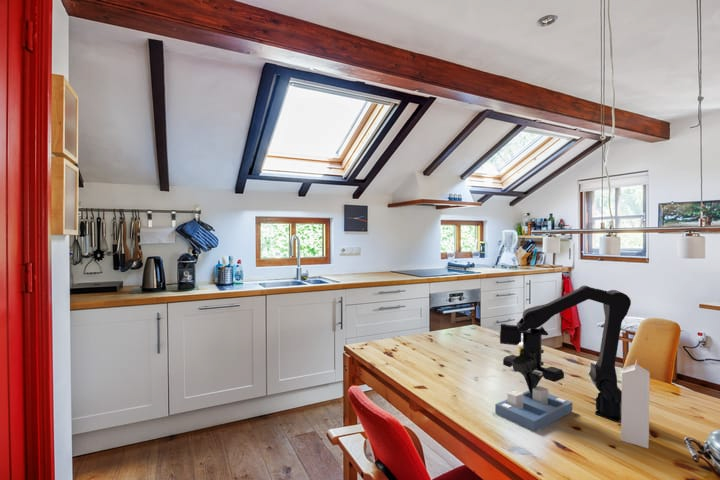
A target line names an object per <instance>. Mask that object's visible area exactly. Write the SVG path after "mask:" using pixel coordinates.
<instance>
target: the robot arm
mask: <svg viewBox="0 0 720 480" xmlns="http://www.w3.org/2000/svg"><path fill="white" fill-rule="evenodd" d="M587 300H590V301H594V302H597V303H600V304H603V305H602V306H603V313H604V317H605V318H604V323H603V324H604V325H603V331H602V337H601V343H600V350H599V353H598V355H599V356H598V359H597V361H596V363H593V362H590V370H589V372H588V375H589V377H590V380H591V382H592V383H593V385H594V386H595V388H596V389H597V390H598V393H597V396H596V397H595V410H596V411H595V412H594V414H595V415H598V416H600V417H604V419H605V418H606V419H609V420H611V421H613V422H616V423H619V422H621V409H622V389H620V387H619V386H618V376H617V371H616V361H617V360H616V359H617V354H618V347H619V341H620V334H621V329H622V324H623V321H624V319H625V318H626V316H627V315H628V313H629V309H630V308H631V304H632V301H631V298H630V296H629V295H627V294H626V293H624V292H621V291H618V290H616V289H611V290H608V291H607V290H604V289H599V288H594V287H590V286H588V285H580V286H579V288H577V289H575V290H572V291H571V292H569V293H566V294H564V295H562V296H560V297H557V298H556V299H554V300H552V301H549V302H547V303H546V304H540V305H536V306H532V307H528V308H526V309H525V310H524V311H523V312H522V317H521V319H519V321H518V322H517V323H516V324H507V323H500V331H499V345H509V346H519V343H521V341H522V340H521V336H523V349H521V351H520V355H519V354H518V355H519V356H518V355H514V354H510V355H507V356H505V357H504V358H503V359H502V365H503V366H505V367H508V368H511V367H512V369H513V371H514V372H517V373H520V374H521V375H522V376H523V377H524V380H525V383H526V385H527V388H528V391H530V392H531V393H533V388H535V387H538V386H539V383H540V382H541V381H542V380H541V379H542V378H544V379H545V380H547V381H550V382H558V381H561V380H564V379H565V373H564V371H563V369H561V368H557V367H555V366H549V367H543V366H544V361H542V354H545V353H544V352H545V350H544V349H543V348H542V345H543V344H542V342H543V341H542V336H548V335H549V333H548V331H547V330H546V329H544V327H543V325H544V324H546V323H547V322H548V321H549V320H550V319H551V318H553V317H554V316H555V315H558V314H559V313H562V312H564V311H567V310H568V309H570V308H573V307H575V306H577V305H579V304H582V303H583V302H586V301H587Z"/></svg>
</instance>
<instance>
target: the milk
mask: <svg viewBox="0 0 720 480" xmlns="http://www.w3.org/2000/svg"><path fill="white" fill-rule="evenodd" d="M650 375H651V373H650V371H648V370H647V369H645V368H643V367H642V366H641V365H639V364H638V360H637V358H636V359H635V363H634V364H631V365H628V366H625V367H623V369H622V372H621V391H622V409H621V420H620V426H621V427H620V441H621V442H624V443H625V442H626V443H628V444H632V445H635V446H637V447H638V446H639V447H642V448H645V449H649V444H650V380H651V379H650Z"/></svg>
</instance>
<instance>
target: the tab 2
mask: <svg viewBox="0 0 720 480" xmlns="http://www.w3.org/2000/svg"><path fill="white" fill-rule="evenodd" d="M548 394H549V388H547V387H544V386H540V385H537V387H535V388H533V397H532V399H534V400H536V401H539V402H542V403H544V404H548Z"/></svg>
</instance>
